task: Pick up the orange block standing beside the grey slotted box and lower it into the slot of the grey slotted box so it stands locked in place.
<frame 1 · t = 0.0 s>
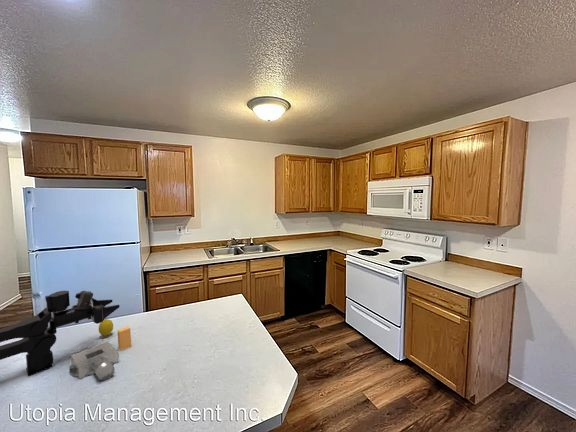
hand: (115, 303, 112), 17 cm above the table, tool horizontal, fingers open, 9 cm apart
lemon: (106, 336, 116), on the table
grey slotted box: (95, 363, 97), on the table
orange block: (124, 347, 107), on the table
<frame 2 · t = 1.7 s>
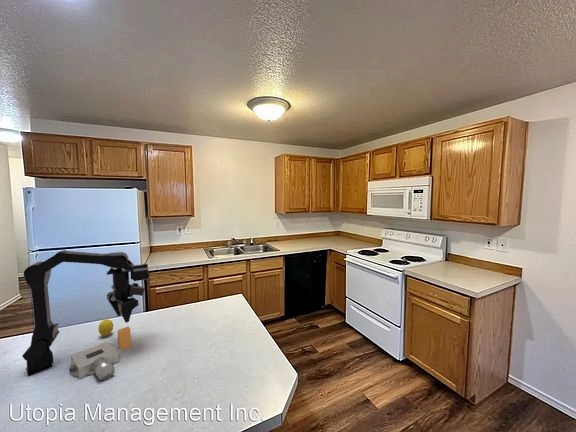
hand: (123, 318, 106), 12 cm above the table, tool pointing down, fingers open, 9 cm apart
nothing on the table moved.
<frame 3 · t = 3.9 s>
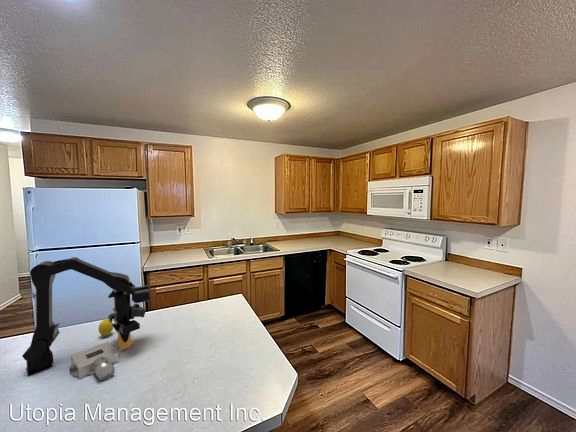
hand: (124, 340, 107), 3 cm above the table, tool pointing down, fingers closed on orange block, 2 cm apart
orange block: (124, 347, 107), on the table, touching gripper
everything else where it was.
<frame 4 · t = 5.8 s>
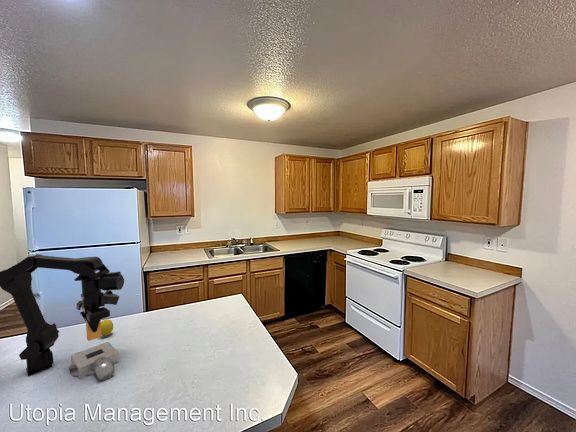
hand: (93, 330, 96), 13 cm above the table, tool pointing down, fingers closed on orange block, 2 cm apart
orange block: (94, 337, 96), point 10 cm above the table, touching gripper
everything else where it was.
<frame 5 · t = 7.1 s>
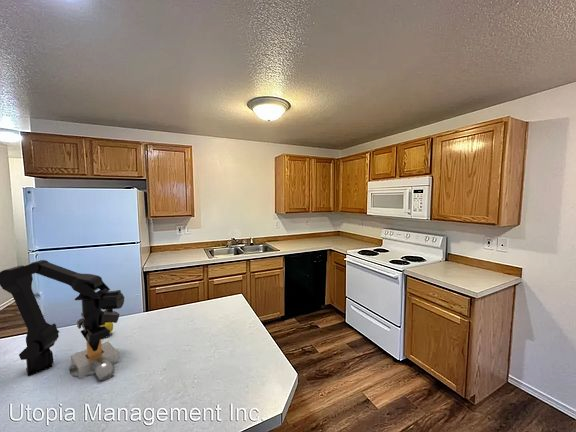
hand: (94, 349, 96), 6 cm above the table, tool pointing down, fingers closed on orange block, 2 cm apart
orange block: (94, 356, 96), point 3 cm above the table, touching gripper
everything else where it was.
when the fingers open (5 cm above the table, at t = 7.8 s): orange block drops 1 cm, resting on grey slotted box.
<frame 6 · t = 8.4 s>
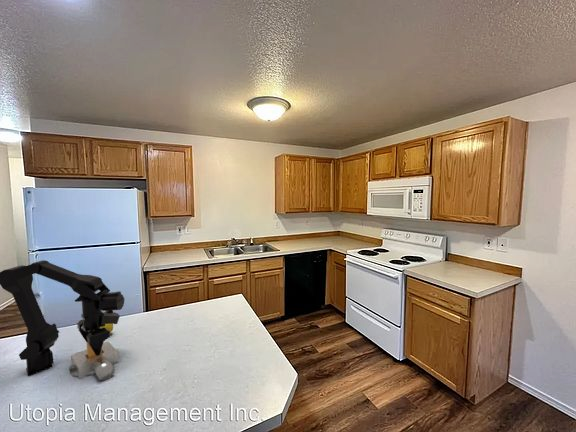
hand: (94, 350, 96), 5 cm above the table, tool pointing down, fingers open, 9 cm apart
orange block: (95, 361, 97), point 1 cm above the table, touching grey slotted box
everything else where it was.
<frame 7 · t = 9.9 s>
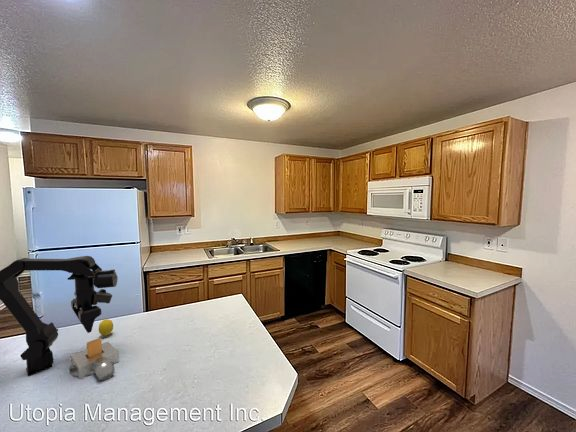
hand: (86, 328, 98), 13 cm above the table, tool pointing down, fingers open, 9 cm apart
nothing on the table moved.
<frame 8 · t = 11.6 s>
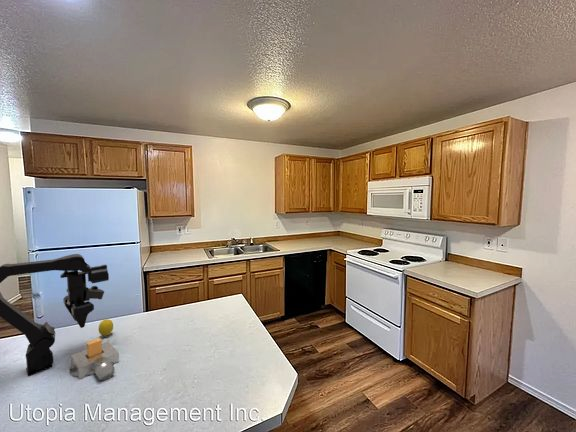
hand: (79, 323, 101), 13 cm above the table, tool pointing down, fingers open, 9 cm apart
nothing on the table moved.
at the end: orange block 0.0 cm off-centre on the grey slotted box, point 0.8 cm above the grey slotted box's base; orange block tilted 0°; the gripper is holding nothing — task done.
